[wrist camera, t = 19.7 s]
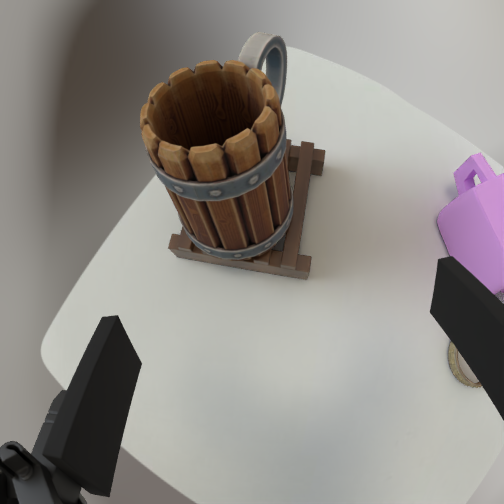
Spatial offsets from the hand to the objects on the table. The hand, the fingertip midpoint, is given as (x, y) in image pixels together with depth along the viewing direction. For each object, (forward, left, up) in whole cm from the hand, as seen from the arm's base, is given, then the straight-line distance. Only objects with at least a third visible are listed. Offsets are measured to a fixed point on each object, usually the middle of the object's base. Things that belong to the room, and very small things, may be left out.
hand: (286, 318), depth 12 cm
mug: (-6, +13, -16) cm, 21 cm away
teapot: (+22, +13, -20) cm, 33 cm away
